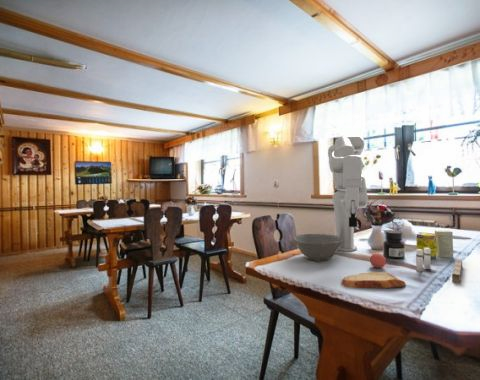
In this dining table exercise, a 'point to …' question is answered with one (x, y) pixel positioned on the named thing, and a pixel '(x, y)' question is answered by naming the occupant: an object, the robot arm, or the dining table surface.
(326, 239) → the ceramic bowl
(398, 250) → the ink bottle
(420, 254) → the pin
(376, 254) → the ball
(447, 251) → the skincare box
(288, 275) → the dining table surface
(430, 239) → the supplement box
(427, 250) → the pin
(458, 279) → the back rail
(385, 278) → the slice of bread
